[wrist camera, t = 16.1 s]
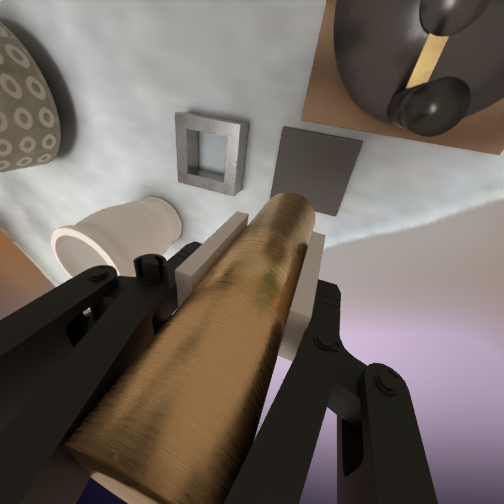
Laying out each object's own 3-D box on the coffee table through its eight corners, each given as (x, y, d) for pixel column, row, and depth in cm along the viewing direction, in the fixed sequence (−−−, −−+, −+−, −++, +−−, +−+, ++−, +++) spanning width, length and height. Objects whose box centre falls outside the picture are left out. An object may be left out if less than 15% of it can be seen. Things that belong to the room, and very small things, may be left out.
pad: (283, 126, 28) (282, 127, 27) (362, 141, 26) (362, 141, 26) (270, 199, 33) (269, 199, 32) (335, 215, 31) (335, 216, 31)
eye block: (188, 111, 30) (174, 112, 28) (249, 123, 29) (240, 124, 26) (189, 176, 35) (178, 181, 33) (241, 189, 33) (233, 196, 31)
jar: (194, 210, 38) (123, 258, 26) (181, 255, 44) (119, 311, 32) (138, 178, 38) (43, 211, 26) (133, 227, 45) (54, 272, 33)
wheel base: (370, -195, 16) (372, -210, 15) (750, -231, 12) (778, -255, 11) (302, 120, 27) (301, 120, 26) (494, 153, 23) (499, 155, 22)
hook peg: (267, 186, 17) (34, 419, 4) (322, 199, 16) (231, 532, 4) (256, 255, 21) (105, 498, 8) (300, 269, 20) (214, 565, 7)
